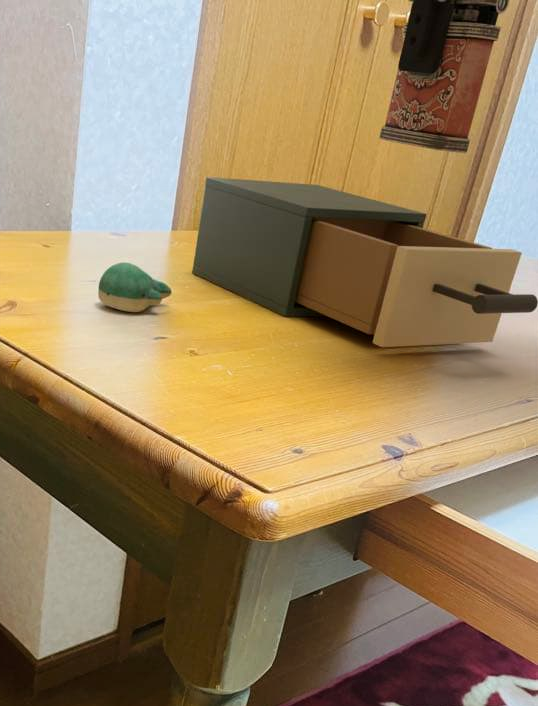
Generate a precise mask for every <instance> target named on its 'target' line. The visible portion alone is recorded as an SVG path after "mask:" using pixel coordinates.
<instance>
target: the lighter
mask: <svg viewBox="0 0 538 706" xmlns="http://www.w3.org/2000/svg"><path fill="white" fill-rule="evenodd" d="M445 3H451V4H454V5H453V12H452V16H451V20H450V23H449V27H448V31H447V36H446V40H445V44H444V48H443V52H442V56H441V60H440V64H439V68H438V70H437V71H436V72H435V73H433V74H429V73H417V72H406V71H400V70H399V68H398V67H397V69H396V70H397V71H396V75H395V79H394V84H393V88H392V91H391V96H390V101H389V105H388V110H387V113H386V119H385V123H384V125H382V126H381V129H380V133H379V137H378V139H379V140H381V141H385V142H391V143H396V144H401V145H407V146H412V147H417V148H423V149H430V150H434V151H435V150H436V151H443V152H448V153H449V152H450V153H458V154H467V153H468V150H469V146H470V142H471V138H469V134H470V132H471V128H472V124H473V120H474V116H475V113H476V110H477V105H478V101H479V98H480V94H481V91H482V88H483V83H484V80H485V76H486V72H487V69H488V65H489V62H490V57H491V55H492V52H493V51H492V50H493V46H494V43H495V42H497V41H498V40H499V35H500V32H501V28H502V27H501V26H499V25H496V26H494V25H487V24H478V23H476V22H477V18H478V14H479V11H478V7H479V6H495V5H496V3H497V0H445ZM407 24H408V21H406V22H404V27H403V31H402V36H405V33H406V29H407Z"/></svg>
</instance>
